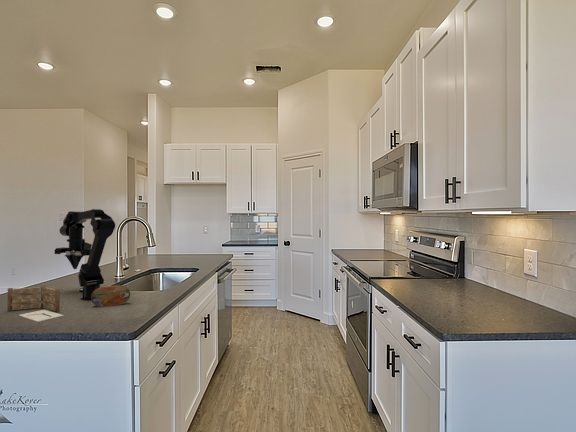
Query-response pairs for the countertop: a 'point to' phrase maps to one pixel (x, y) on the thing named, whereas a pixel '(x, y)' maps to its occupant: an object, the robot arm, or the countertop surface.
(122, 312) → the countertop surface
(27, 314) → the card
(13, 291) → the fence panel
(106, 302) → the tin
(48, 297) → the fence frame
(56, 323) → the countertop surface
